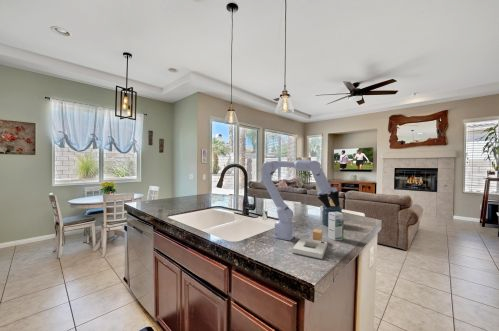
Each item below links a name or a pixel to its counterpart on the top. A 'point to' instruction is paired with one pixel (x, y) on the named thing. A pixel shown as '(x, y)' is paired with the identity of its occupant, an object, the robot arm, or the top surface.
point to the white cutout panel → (310, 248)
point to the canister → (330, 209)
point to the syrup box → (335, 225)
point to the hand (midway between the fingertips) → (333, 206)
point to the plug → (317, 235)
